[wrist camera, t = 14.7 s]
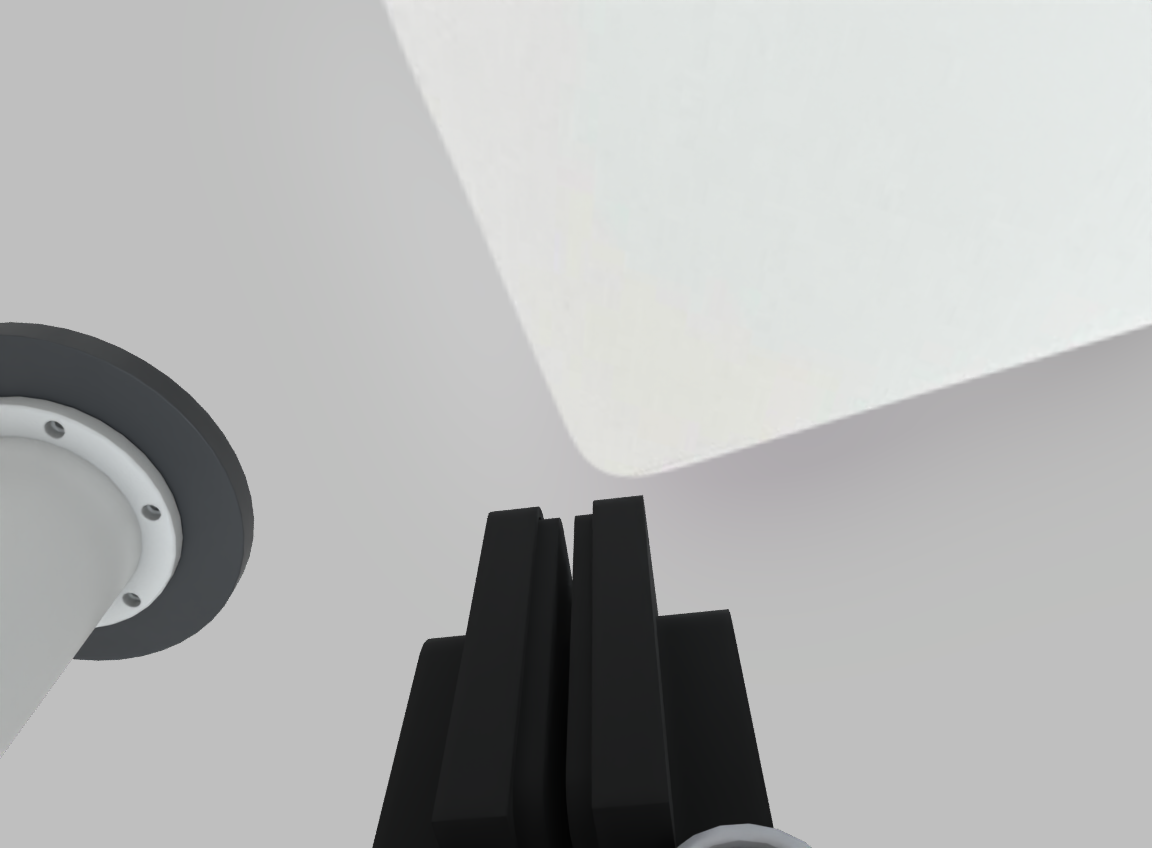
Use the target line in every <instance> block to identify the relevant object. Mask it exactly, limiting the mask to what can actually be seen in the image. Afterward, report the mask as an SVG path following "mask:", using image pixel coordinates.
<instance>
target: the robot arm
mask: <svg viewBox="0 0 1152 848" xmlns="http://www.w3.org/2000/svg"><path fill="white" fill-rule="evenodd" d="M182 540H183V534H182V526H181V517H180V514H179V511H178V508H177V505H176V502H175V499H174V496H173V494H172V492H171V491H170V489H169V487H168V486H167V484H166V482H165V480H164V479H163V477H162V475H161V474H160V472H159V471H158V470H157V469H156V468H155V466H154V465H153V464H152V463H151V461H150V460H149V459H148V458H147V457H146V455H145V454H144V453H143V452H142V451H140V450H139V449H138V448H137V447H136V446H135V445H134V444H132V443H131V442H130V441H129V440H128V439H127V438H126V437H125V436H123V435H122V434H120V433H119V432H117V431H116V430H114V429H113V428H111V427H110V426H108V425H106V424H105V423H103V422H102V421H100V420H98V419H96V418H94V417H92V416H90V415H88V414H85V413H83V412H81V411H79V410H77V409H75V408H72V407H68V406H65V405H62V404H58V403H55V402H52V401H48V400H43V399H35V398H28V397H21V396H13V397H0V758H1V757H2V755H3V754H4V753H5V751H6V750H7V749H8V747H9V746H10V744H11V743H12V742H13V740H14V739H15V737H16V736H17V735H18V733H19V732H20V731H21V729H22V728H23V726H24V725H25V723H26V722H27V721H28V720H29V718H30V717H31V715H32V714H33V713H34V711H35V710H36V708H37V707H38V706H39V704H40V703H41V701H42V700H43V699H44V697H45V696H46V694H47V693H48V692H49V691H50V689H51V688H52V686H53V685H54V684H55V682H56V681H57V680H58V678H59V677H60V675H61V674H62V673H63V671H64V670H65V668H66V667H67V666H68V664H69V663H70V662H71V660H72V659H73V657H74V656H75V655H76V653H77V652H78V651H79V649H80V648H81V646H82V645H83V644H84V642H85V641H86V640H87V638H88V637H89V635H90V634H91V633H92V631H93V630H94V628H96V627H102V626H107V625H112V624H115V623H118V622H120V621H123V620H126V619H128V618H131V617H133V616H134V615H136V614H138V613H139V612H141V611H142V610H144V609H145V608H147V607H148V606H149V605H150V604H151V603H152V602H153V601H154V600H155V599H156V598H157V597H158V596H159V595H160V594H161V593H162V591H163V590H164V588H165V587H166V585H167V584H168V582H169V581H170V579H171V578H172V576H173V575H174V572H175V570H176V567H177V564H178V562H179V559H180V557H181V549H182ZM373 848H811V847H810V846H809V845H808V844H807V843H806V842H804V841H802V840H800V839H797V838H795V837H793V836H791V835H789V834H787V833H785V832H783V831H781V830H779V829H775V828H773V823H772V818H771V813H770V808H769V803H768V798H767V793H766V788H765V783H764V778H763V773H762V768H761V763H760V758H759V753H758V749H757V743H756V738H755V733H754V728H753V723H752V718H751V714H750V708H749V703H748V698H747V694H746V688H745V683H744V678H743V673H742V669H741V664H740V659H739V654H738V649H737V644H736V639H735V634H734V629H733V624H732V620H731V615H730V612H729V610H728V609H727V610H716V611H707V612H697V613H687V614H676V615H666V616H658V610H657V603H656V594H655V587H654V578H653V570H652V562H651V554H650V546H649V538H648V530H647V522H646V514H645V507H644V500H643V495H642V496H631V497H622V498H613V499H604V500H595V501H593V514H589V515H580V516H575V522H574V553H573V580H572V576H571V570H570V564H569V559H568V553H567V547H566V542H565V537H564V530H563V525H562V522H561V519H560V518H552V519H544V518H543V514H542V511H541V509H540V507H531V508H522V509H513V510H503V511H494V512H490V513H489V515H488V518H487V523H486V529H485V534H484V540H483V545H482V550H481V556H480V561H479V566H478V572H477V577H476V583H475V588H474V594H473V599H472V604H471V610H470V615H469V621H468V626H467V631H466V635H463V636H453V637H444V638H433V639H428V640H427V641H426V642H425V643H424V644H423V647H422V649H421V652H420V655H419V660H418V663H417V668H416V672H415V676H414V680H413V684H412V688H411V692H410V696H409V700H408V704H407V709H406V712H405V717H404V721H403V725H402V729H401V733H400V737H399V741H398V745H397V749H396V753H395V758H394V762H393V766H392V770H391V774H390V778H389V782H388V786H387V790H386V795H385V798H384V802H383V807H382V811H381V815H380V819H379V823H378V827H377V831H376V835H375V839H374V843H373Z"/></svg>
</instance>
